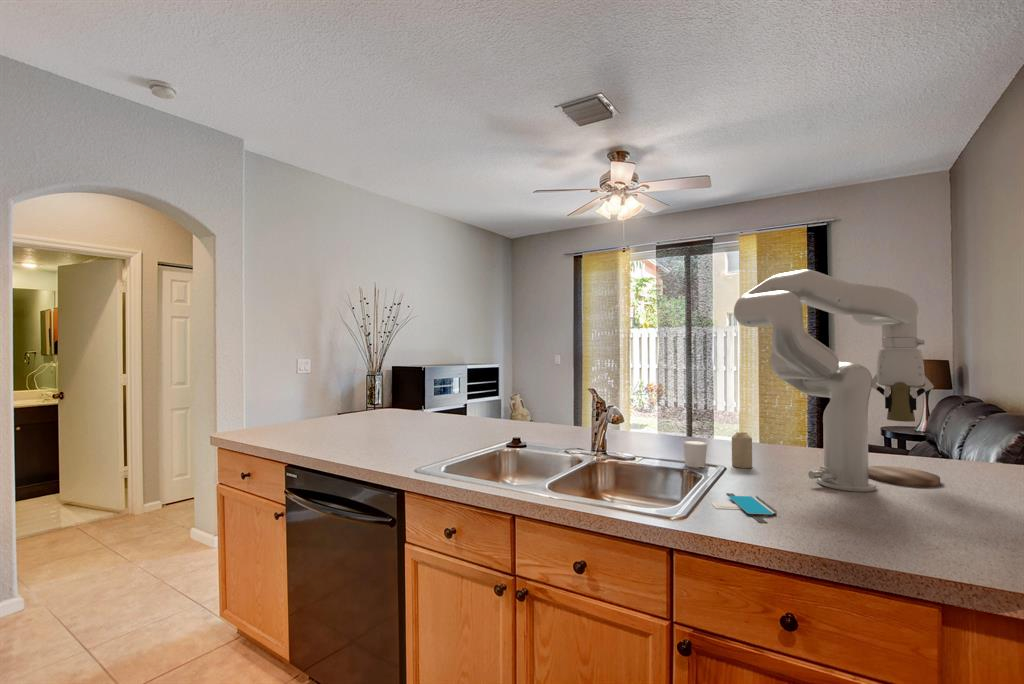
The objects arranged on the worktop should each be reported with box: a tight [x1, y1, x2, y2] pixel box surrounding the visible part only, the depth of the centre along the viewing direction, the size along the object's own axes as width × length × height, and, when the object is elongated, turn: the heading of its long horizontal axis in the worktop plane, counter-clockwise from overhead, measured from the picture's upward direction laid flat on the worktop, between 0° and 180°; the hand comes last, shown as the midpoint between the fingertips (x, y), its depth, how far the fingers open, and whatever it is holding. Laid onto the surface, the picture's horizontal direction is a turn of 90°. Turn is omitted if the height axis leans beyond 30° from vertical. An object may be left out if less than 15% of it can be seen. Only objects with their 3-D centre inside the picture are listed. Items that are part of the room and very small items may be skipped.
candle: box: [731, 431, 753, 469], centre depth 147 cm, size 6×6×10 cm
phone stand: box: [711, 492, 778, 524], centre depth 109 cm, size 20×12×2 cm, turn 175°
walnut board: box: [868, 465, 941, 488], centre depth 132 cm, size 16×16×2 cm
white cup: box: [682, 440, 708, 469], centre depth 148 cm, size 7×7×7 cm
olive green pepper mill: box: [886, 382, 916, 423], centre depth 133 cm, size 6×6×11 cm
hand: (900, 411), depth 133 cm, fingers closed on olive green pepper mill, 3 cm apart
